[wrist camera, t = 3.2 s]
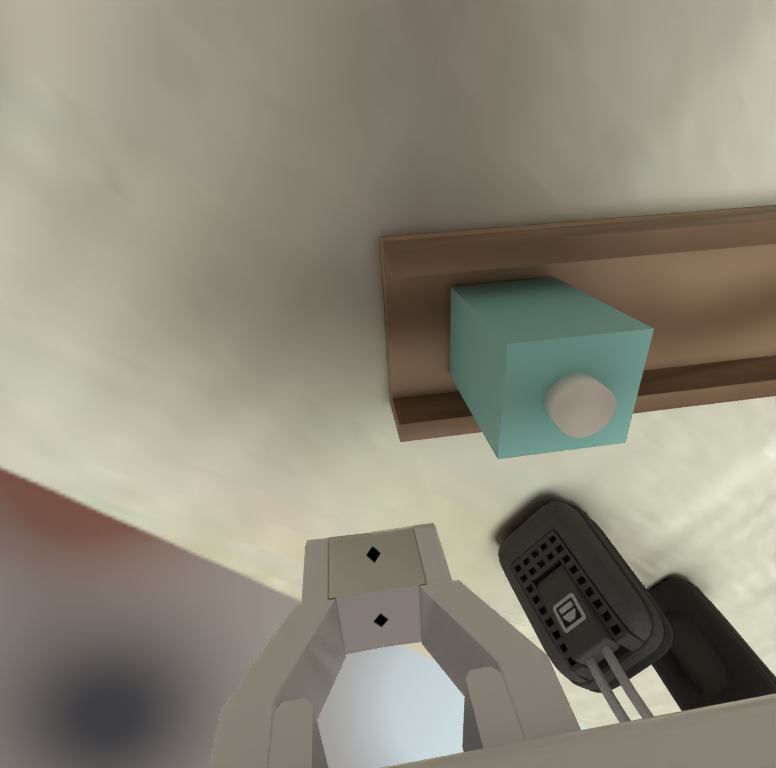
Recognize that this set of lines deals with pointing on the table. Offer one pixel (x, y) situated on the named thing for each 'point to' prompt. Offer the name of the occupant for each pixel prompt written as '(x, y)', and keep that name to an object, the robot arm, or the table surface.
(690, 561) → the table surface
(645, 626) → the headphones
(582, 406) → the block
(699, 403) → the rail
